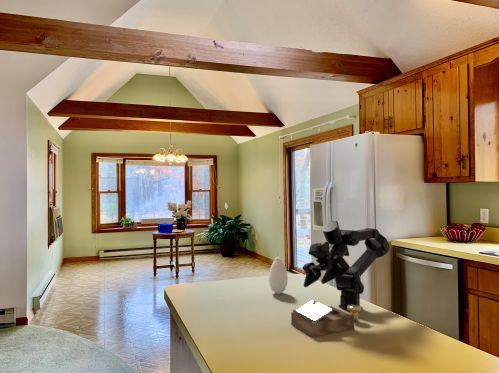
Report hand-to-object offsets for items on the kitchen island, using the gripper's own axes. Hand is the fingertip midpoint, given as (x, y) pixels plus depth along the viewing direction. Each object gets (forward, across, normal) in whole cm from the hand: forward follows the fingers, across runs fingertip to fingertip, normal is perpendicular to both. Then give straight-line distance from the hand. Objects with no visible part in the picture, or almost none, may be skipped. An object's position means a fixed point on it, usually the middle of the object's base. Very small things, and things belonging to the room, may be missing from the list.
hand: (313, 284), depth 125 cm
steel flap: (+7, +1, +5) cm, 9 cm away
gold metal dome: (-3, +1, +19) cm, 19 cm away
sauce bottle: (-9, -38, +8) cm, 40 cm away
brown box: (+7, 0, +11) cm, 13 cm away
